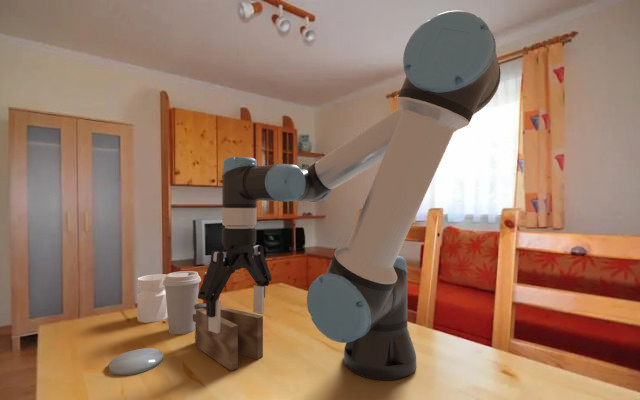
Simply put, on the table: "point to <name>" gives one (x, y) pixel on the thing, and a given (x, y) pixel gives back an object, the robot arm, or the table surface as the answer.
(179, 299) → the coffee cup
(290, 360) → the table surface
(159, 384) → the table surface
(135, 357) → the grey domed disc
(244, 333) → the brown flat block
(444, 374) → the table surface
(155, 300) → the vase
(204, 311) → the tongs hinged jaw
